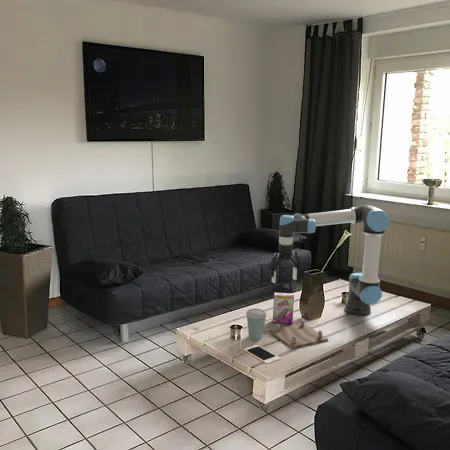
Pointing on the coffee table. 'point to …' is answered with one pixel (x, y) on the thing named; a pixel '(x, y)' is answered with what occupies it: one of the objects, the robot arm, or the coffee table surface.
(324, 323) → the coffee table surface
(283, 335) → the pin dock
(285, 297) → the candy bar box
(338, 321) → the coffee table surface
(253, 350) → the cell phone
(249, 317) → the disposable coffee cup
